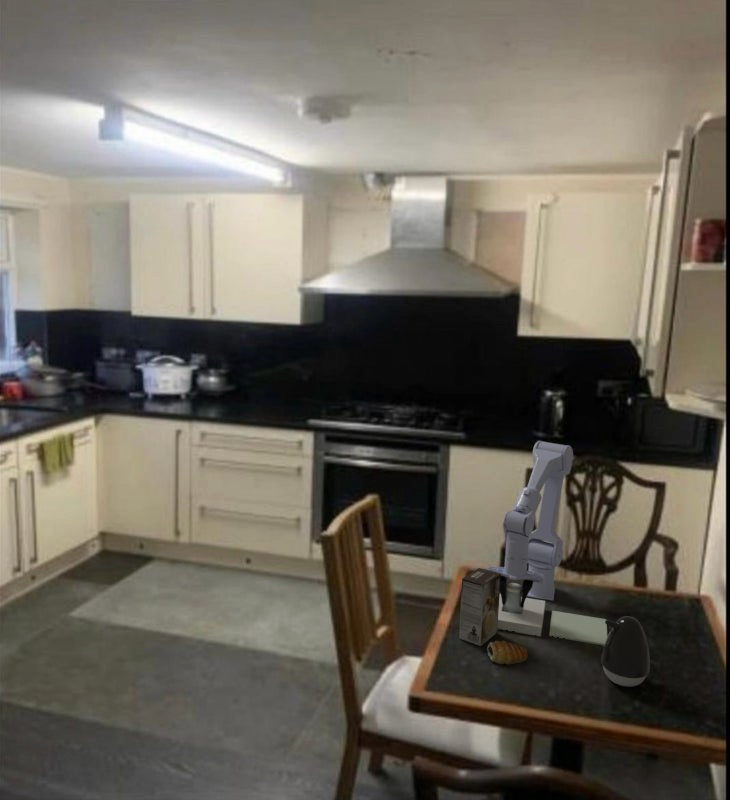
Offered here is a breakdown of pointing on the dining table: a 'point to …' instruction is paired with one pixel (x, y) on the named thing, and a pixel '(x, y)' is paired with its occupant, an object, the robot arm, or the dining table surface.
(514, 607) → the cartridge
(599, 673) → the dining table surface
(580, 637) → the mat
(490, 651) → the pastry
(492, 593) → the coffee box
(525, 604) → the housing
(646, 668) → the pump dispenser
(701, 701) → the dining table surface
